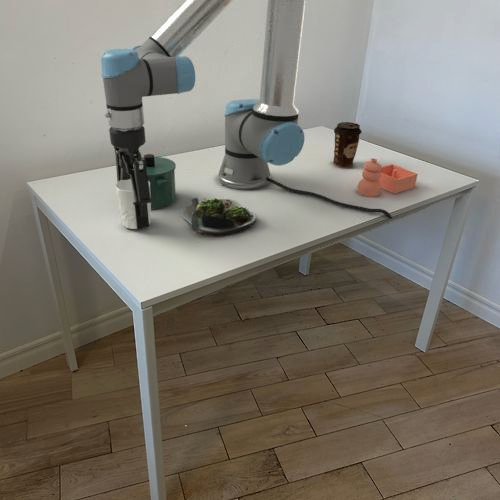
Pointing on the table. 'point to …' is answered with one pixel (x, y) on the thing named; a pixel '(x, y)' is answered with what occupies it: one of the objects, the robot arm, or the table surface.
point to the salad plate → (218, 217)
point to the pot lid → (158, 165)
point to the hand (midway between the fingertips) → (136, 220)
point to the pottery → (385, 179)
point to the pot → (162, 190)
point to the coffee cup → (346, 143)
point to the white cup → (128, 203)
